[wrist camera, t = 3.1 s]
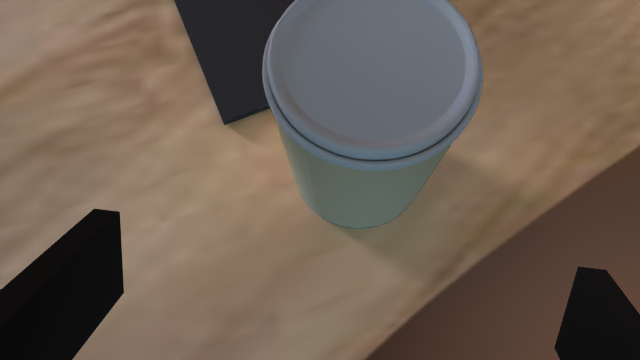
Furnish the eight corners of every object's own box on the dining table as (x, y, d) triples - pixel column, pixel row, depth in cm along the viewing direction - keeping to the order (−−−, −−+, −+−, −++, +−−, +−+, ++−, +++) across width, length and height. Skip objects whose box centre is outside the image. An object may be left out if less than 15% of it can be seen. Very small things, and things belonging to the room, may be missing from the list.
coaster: (164, -25, 40) (162, -30, 39) (332, -80, 42) (332, -85, 41) (224, 125, 35) (223, 121, 35) (409, 56, 37) (410, 52, 37)
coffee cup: (429, 102, 36) (477, -34, 25) (439, 243, 32) (499, 160, 21) (283, 101, 36) (265, -35, 25) (277, 242, 33) (253, 158, 21)
